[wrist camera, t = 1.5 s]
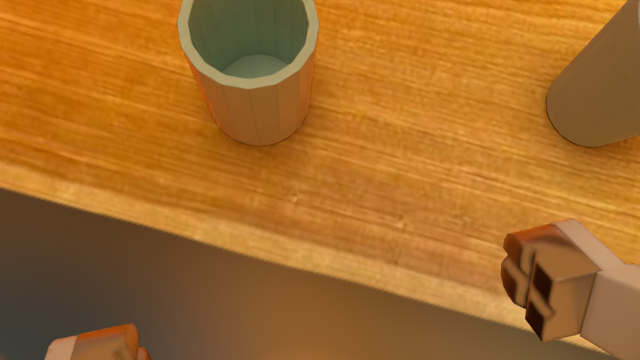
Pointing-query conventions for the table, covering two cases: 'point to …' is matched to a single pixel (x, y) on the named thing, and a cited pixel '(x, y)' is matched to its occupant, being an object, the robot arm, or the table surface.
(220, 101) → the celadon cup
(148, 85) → the table surface
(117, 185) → the table surface
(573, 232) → the robot arm
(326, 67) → the table surface
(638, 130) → the cup
